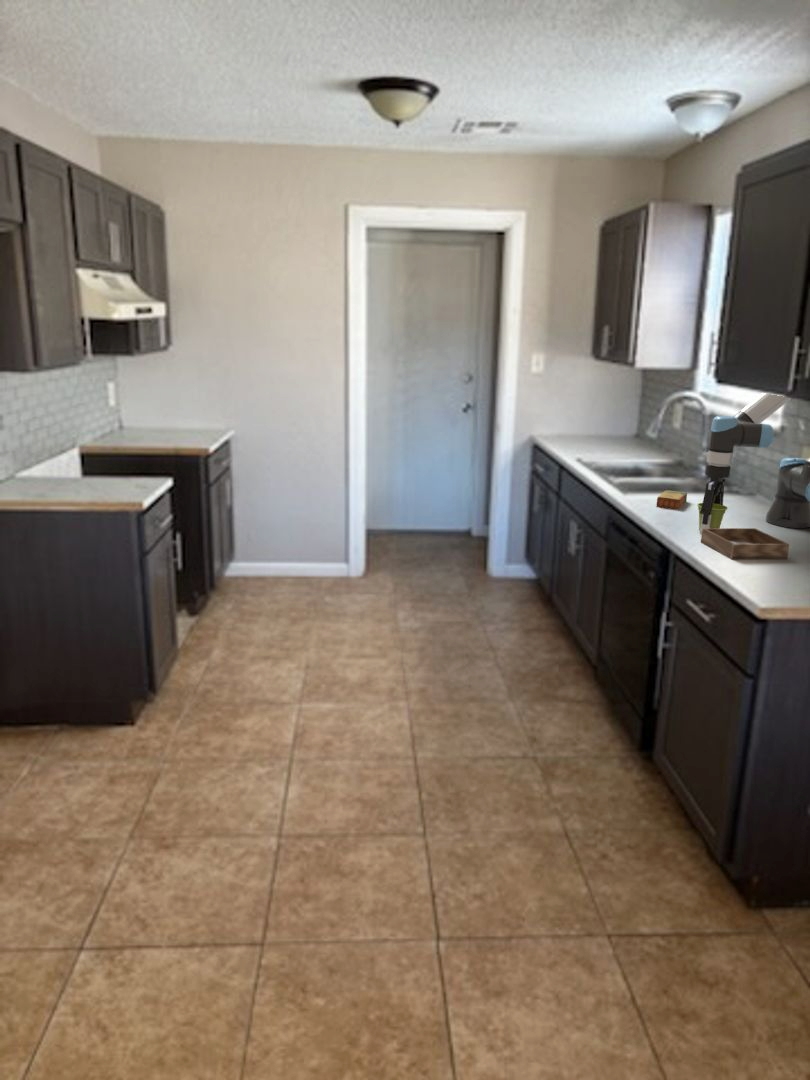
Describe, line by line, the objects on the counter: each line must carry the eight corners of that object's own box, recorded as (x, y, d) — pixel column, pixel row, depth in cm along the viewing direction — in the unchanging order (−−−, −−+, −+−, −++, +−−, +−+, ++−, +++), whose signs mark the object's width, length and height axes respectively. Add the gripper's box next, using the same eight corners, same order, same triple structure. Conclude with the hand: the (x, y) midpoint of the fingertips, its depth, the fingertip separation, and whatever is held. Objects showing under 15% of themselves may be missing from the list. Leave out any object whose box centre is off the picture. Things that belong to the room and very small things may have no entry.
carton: (655, 507, 306) (657, 496, 305) (664, 499, 319) (665, 489, 318) (678, 510, 302) (680, 499, 301) (686, 502, 316) (687, 491, 315)
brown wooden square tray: (752, 541, 263) (755, 528, 262) (787, 558, 246) (789, 544, 244) (700, 542, 260) (702, 528, 258) (731, 559, 243) (733, 544, 241)
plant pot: (696, 526, 280) (699, 501, 277) (725, 530, 276) (729, 505, 273) (691, 531, 272) (695, 506, 269) (721, 536, 268) (725, 510, 265)
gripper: (716, 458, 278) (706, 522, 285) (696, 467, 261) (686, 535, 267) (739, 461, 274) (729, 526, 280) (720, 470, 257) (710, 539, 263)
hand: (708, 530), depth 274 cm, fingers open, 10 cm apart
